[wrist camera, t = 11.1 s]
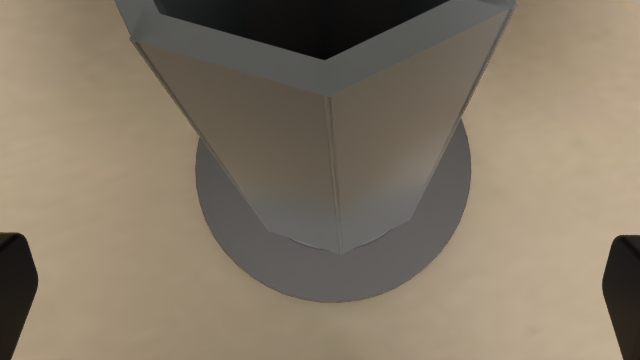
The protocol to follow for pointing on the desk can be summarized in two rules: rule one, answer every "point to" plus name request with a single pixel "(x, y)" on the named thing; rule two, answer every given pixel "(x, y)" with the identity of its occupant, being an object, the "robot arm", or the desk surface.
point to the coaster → (325, 266)
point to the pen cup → (322, 99)
